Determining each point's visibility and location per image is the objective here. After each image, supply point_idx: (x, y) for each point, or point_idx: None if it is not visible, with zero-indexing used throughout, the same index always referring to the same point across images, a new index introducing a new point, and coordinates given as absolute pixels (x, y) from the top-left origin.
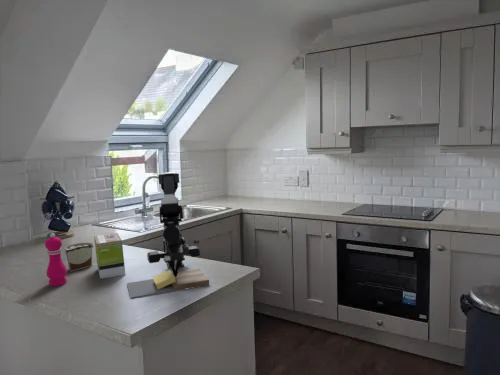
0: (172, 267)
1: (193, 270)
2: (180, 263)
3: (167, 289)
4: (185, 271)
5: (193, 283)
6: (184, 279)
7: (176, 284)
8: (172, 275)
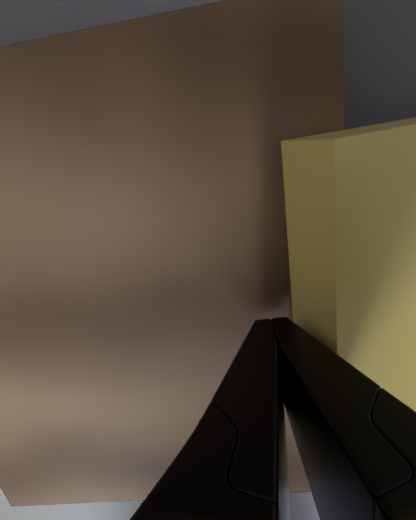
0: (383, 422)
1: (64, 476)
2: (136, 517)
3: (409, 47)
4: (146, 478)
5: (13, 53)
6: (151, 236)
7: (284, 25)
8: (352, 238)
